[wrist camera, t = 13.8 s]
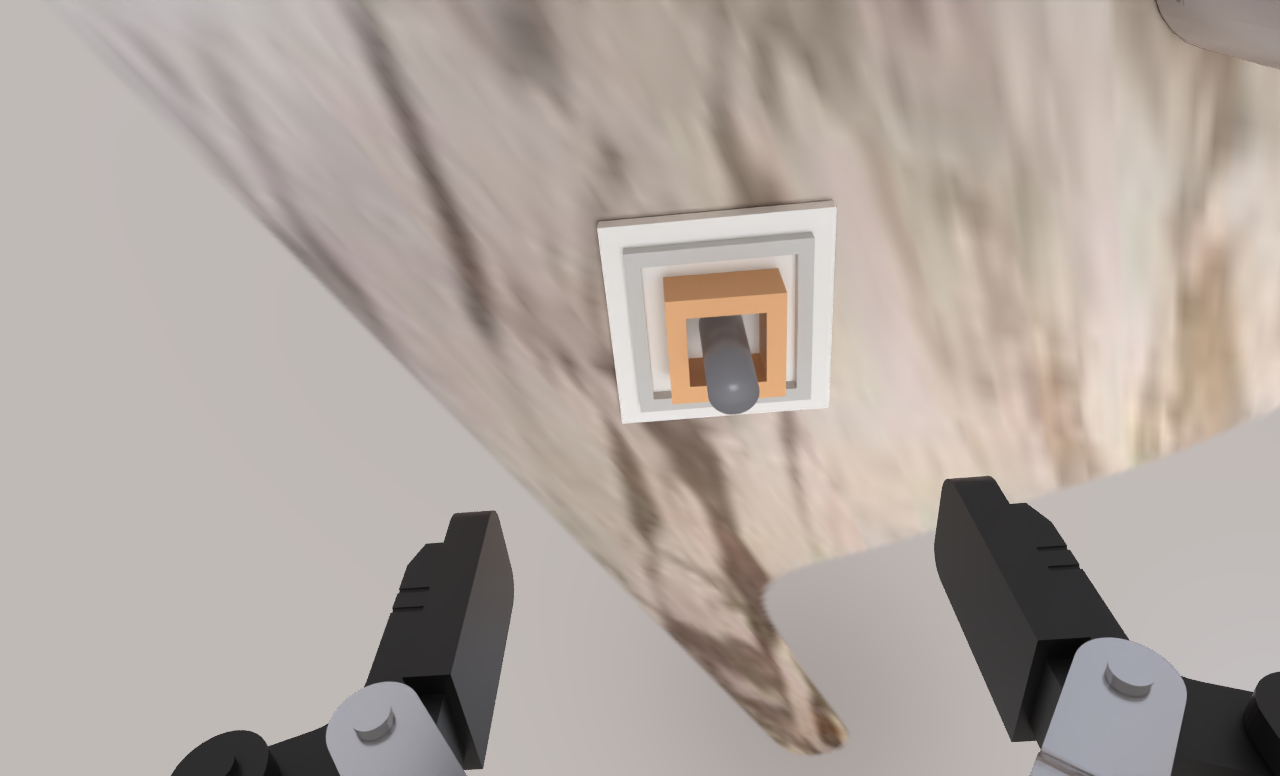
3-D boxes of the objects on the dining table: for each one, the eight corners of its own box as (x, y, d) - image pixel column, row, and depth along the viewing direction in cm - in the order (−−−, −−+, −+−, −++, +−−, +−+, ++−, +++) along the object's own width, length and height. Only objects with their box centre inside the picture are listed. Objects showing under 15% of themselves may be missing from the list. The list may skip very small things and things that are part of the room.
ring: (778, 268, 41) (787, 292, 38) (777, 367, 44) (785, 396, 41) (662, 277, 41) (664, 302, 38) (670, 375, 44) (672, 404, 42)
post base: (832, 200, 40) (871, 261, 33) (825, 398, 46) (857, 484, 39) (597, 221, 40) (589, 286, 34) (622, 414, 47) (619, 501, 40)
